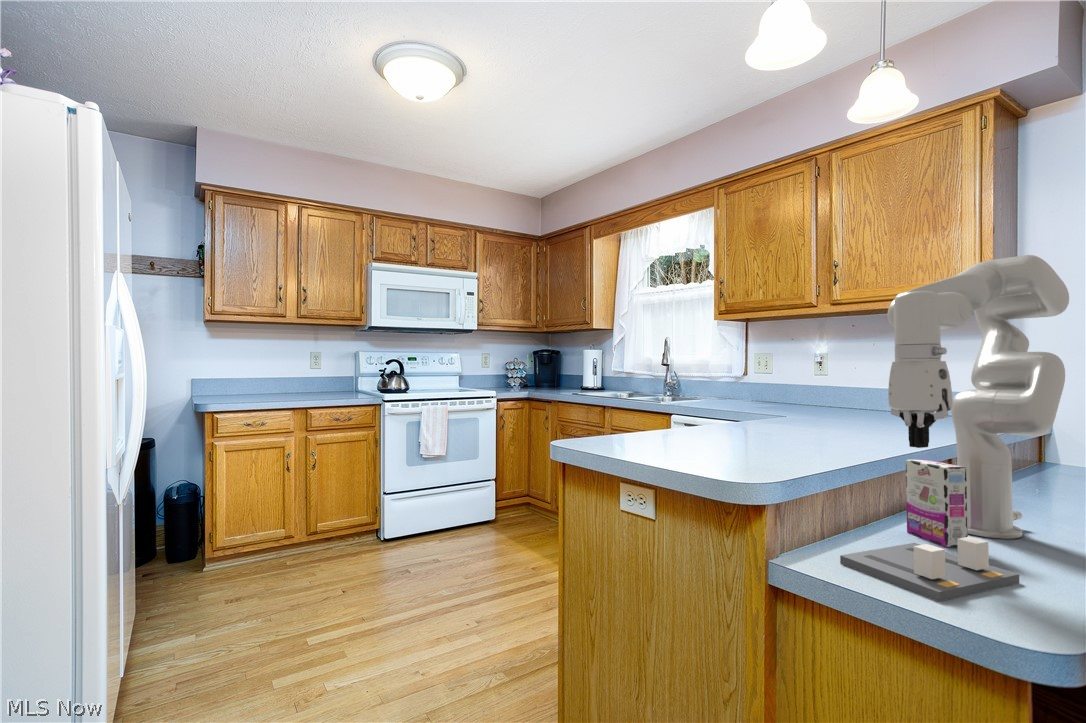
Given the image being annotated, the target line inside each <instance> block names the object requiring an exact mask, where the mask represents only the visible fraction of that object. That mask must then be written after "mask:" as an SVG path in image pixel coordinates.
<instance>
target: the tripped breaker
mask: <svg viewBox="0 0 1086 723" xmlns="http://www.w3.org/2000/svg"><path fill="white" fill-rule="evenodd" d="M957 541H958V547H957V556H958V565H961V566H965V567H968V568H971V569H974V570H980V569H985V568H989V565H990V563H989V560H990V559H989V557H990V556H989V555H990V554H989V553H990V552H989V541H987V540H984V539H980V538H975V537H972V536H968V537H965V538H959V539H957Z"/></svg>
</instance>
